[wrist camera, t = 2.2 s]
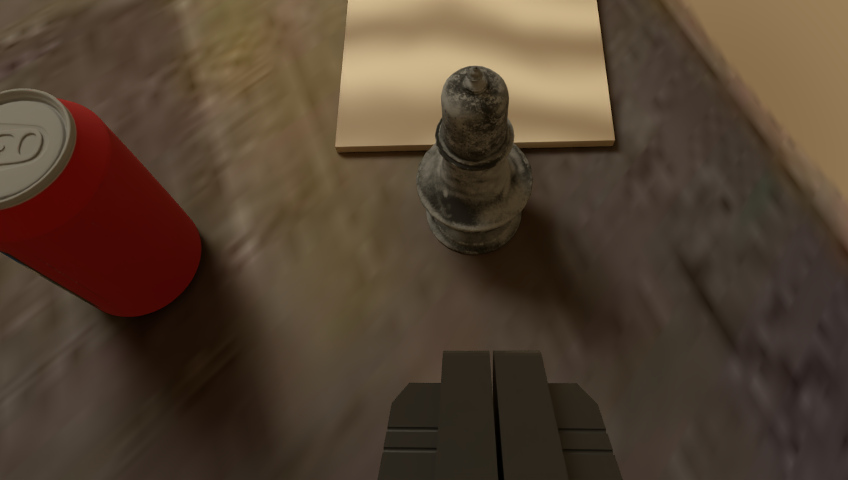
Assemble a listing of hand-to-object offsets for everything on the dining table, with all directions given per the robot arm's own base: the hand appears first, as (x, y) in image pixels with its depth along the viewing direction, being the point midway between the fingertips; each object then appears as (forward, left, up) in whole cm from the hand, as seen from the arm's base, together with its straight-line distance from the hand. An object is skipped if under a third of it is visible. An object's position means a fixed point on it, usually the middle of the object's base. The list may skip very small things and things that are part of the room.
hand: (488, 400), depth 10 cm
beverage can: (-21, +4, -21) cm, 30 cm away
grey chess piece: (-5, +13, -21) cm, 25 cm away
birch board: (-9, +25, -21) cm, 34 cm away
